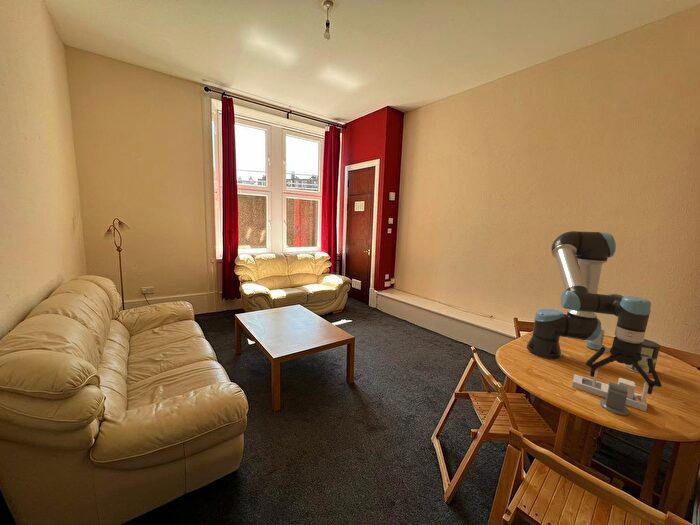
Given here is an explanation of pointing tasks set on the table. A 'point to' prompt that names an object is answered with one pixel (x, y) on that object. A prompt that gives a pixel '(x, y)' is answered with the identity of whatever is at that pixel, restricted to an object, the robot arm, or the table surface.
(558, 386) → the table surface
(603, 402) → the grey disc
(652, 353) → the coffee can
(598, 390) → the strip
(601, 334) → the beverage can
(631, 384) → the white plug
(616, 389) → the block
